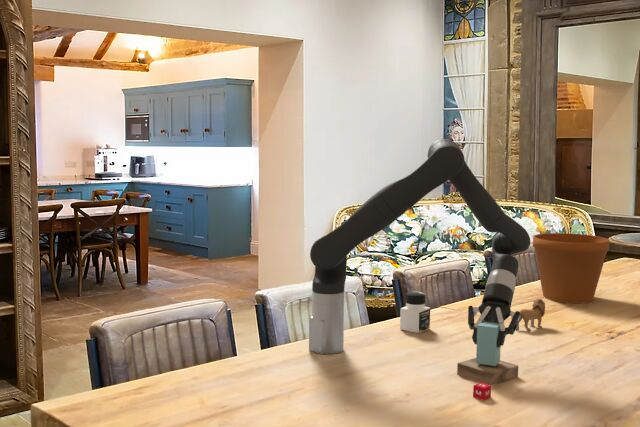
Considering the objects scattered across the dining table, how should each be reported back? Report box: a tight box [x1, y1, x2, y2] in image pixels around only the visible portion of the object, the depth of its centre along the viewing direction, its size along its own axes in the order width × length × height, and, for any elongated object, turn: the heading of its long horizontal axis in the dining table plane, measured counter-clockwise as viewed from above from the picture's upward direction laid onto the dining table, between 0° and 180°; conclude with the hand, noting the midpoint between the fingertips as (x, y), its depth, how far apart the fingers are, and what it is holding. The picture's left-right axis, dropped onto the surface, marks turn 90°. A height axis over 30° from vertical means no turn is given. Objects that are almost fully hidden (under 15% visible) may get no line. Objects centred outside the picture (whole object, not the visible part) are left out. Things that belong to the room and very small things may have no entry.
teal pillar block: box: [475, 321, 501, 366], centre depth 189 cm, size 5×5×10 cm
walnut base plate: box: [456, 357, 519, 387], centre depth 190 cm, size 11×11×3 cm
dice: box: [472, 382, 492, 401], centre depth 174 cm, size 3×3×3 cm
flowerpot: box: [532, 232, 610, 304], centre depth 284 cm, size 28×28×24 cm
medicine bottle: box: [399, 291, 431, 334], centre depth 234 cm, size 7×7×12 cm
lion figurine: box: [515, 298, 546, 331], centre depth 238 cm, size 15×5×9 cm, turn 134°
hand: (486, 344), depth 187 cm, fingers open, 5 cm apart
